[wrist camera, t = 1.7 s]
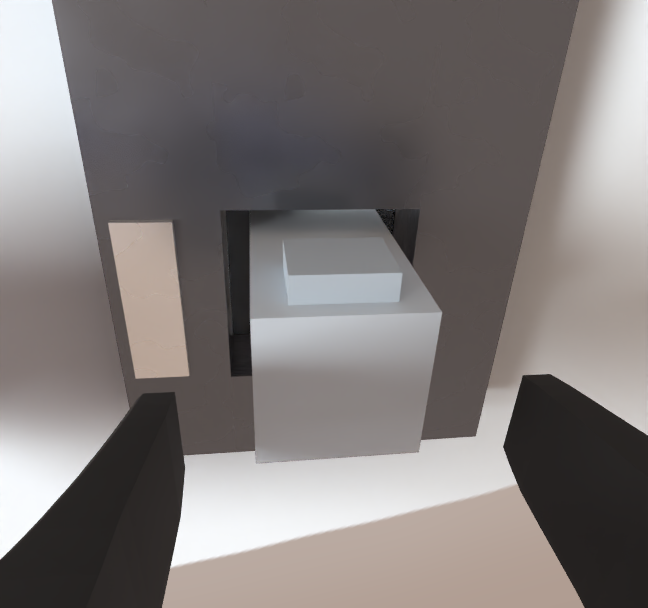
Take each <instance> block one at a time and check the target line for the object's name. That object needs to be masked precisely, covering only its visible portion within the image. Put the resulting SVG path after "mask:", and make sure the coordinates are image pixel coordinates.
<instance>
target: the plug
mask: <svg viewBox="0 0 648 608" xmlns="http://www.w3.org/2000/svg"><path fill="white" fill-rule="evenodd" d="M441 317H442V311H441V310H440V308H439V307H438V305H437V304H436V302H435V300H434V299H433V297H432V296H431V294H430V293H429V291H428V290H427V288H426V287H425V285H424V284H423V282H422V280H421V279H420V277H419V276H418V274H417V273H416V271H415V270H414V268H413V267H412V265H411V264H410V262H409V261H408V259H407V257H406V256H405V254H404V253H403V251H402V250H401V248H400V247H399V245H398V244H397V242H396V241H395V239H394V237H393V236H392V234H391V233H390V231H389V230H388V228H387V227H386V225H385V224H384V222H383V221H382V219H381V218H380V216H379V214H378V213H377V211H376V210H375V209H350V210H250V331H251V356H252V380H253V405H254V430H255V454H256V463H271V462H285V461H299V460H314V459H328V458H342V457H357V456H371V455H385V454H400V453H414V452H419V447H420V441H421V435H422V429H423V423H424V418H425V412H426V406H427V400H428V394H429V388H430V382H431V376H432V370H433V364H434V358H435V352H436V346H437V340H438V335H439V329H440V323H441Z"/></svg>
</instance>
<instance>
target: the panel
mask: <svg viewBox="0 0 648 608" xmlns="http://www.w3.org/2000/svg"><path fill="white" fill-rule="evenodd" d="M578 2H579V0H52V4H53V9H54V14H55V19H56V25H57V30H58V35H59V40H60V46H61V51H62V56H63V61H64V67H65V72H66V77H67V82H68V88H69V93H70V98H71V103H72V109H73V114H74V119H75V124H76V129H77V135H78V140H79V145H80V150H81V156H82V161H83V166H84V171H85V177H86V182H87V187H88V192H89V198H90V203H91V208H92V213H93V218H94V224H95V229H96V234H97V239H98V245H99V250H100V255H101V260H102V266H103V271H104V276H105V281H106V287H107V292H108V297H109V302H110V307H111V313H112V318H113V323H114V328H115V334H116V339H117V344H118V349H119V355H120V360H121V365H122V370H123V376H124V381H125V386H126V391H127V396H128V402H129V407H130V408H131V407H132V406H133V404H134V403H135V401H136V400H137V399H138V398H139V397H140V396H141V395H142V394H143V393H163V392H175V396H176V404H177V411H178V419H179V426H180V434H181V441H182V449H183V455H196V454H211V453H227V452H242V451H255V430H254V405H253V380H252V356H251V334H236V335H233V322H232V305H231V289H230V272H229V255H228V239H227V222H226V210H350V209H395V216H394V226H393V235H392V236H393V237H394V239H395V241H396V242H397V244H398V245H399V247H400V248H401V250H402V251H403V253H404V254H405V256H406V257H407V259H408V261H409V262H410V264H411V265H412V267H413V268H414V270H415V271H416V273H417V274H418V276H419V277H420V279H421V280H422V282H423V284H424V285H425V287H426V288H427V290H428V291H429V293H430V294H431V296H432V297H433V299H434V300H435V302H436V304H437V305H438V307H439V308H440V310H441V311H442V317H441V323H440V329H439V335H438V340H437V346H436V352H435V358H434V364H433V370H432V376H431V382H430V388H429V394H428V400H427V406H426V412H425V418H424V423H423V429H422V435H421V440H426V439H441V438H457V437H472V436H476V432H477V428H478V424H479V420H480V415H481V411H482V407H483V403H484V399H485V394H486V390H487V386H488V382H489V378H490V373H491V369H492V365H493V361H494V356H495V352H496V348H497V344H498V340H499V335H500V331H501V327H502V323H503V319H504V314H505V310H506V306H507V302H508V297H509V293H510V289H511V285H512V281H513V276H514V272H515V268H516V264H517V259H518V255H519V251H520V247H521V243H522V238H523V234H524V230H525V226H526V222H527V217H528V213H529V209H530V205H531V200H532V196H533V192H534V188H535V184H536V179H537V175H538V171H539V167H540V162H541V158H542V154H543V150H544V146H545V141H546V137H547V133H548V129H549V125H550V120H551V116H552V112H553V108H554V103H555V99H556V95H557V91H558V87H559V82H560V78H561V74H562V70H563V66H564V61H565V57H566V53H567V49H568V44H569V40H570V36H571V32H572V28H573V23H574V19H575V15H576V11H577V6H578Z"/></svg>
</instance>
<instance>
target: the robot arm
mask: <svg viewBox="0 0 648 608" xmlns="http://www.w3.org/2000/svg"><path fill="white" fill-rule="evenodd" d="M503 448H504V451H505V453H506V456H507V458H508V461H509V464H510V466H511V469H512V472H513V474H514V476H515V479H516V481H517V484H518V486H519V488H520V491H521V493H522V494H523V496H524V498H525V500H526V502H527V504H528V506H529V508H530V509H531V511H532V513H533V515H534V517H535V518H536V520H537V522H538V524H539V526H540V528H541V529H542V531H543V533H544V535H545V536H546V538H547V540H548V542H549V544H550V545H551V547H552V549H553V551H554V552H555V554H556V556H557V558H558V560H559V561H560V563H561V565H562V567H563V569H564V570H565V572H566V574H567V576H568V577H569V579H570V581H571V583H572V585H573V586H574V588H575V590H576V592H577V593H578V596H579V597H580V599H581V601H582V603H583V605H584V607H585V608H648V435H646V434H644V433H643V432H641V431H640V430H638V429H636V428H635V427H633V426H632V425H630V424H629V423H627V422H626V421H624V420H622V419H621V418H619V417H618V416H616V415H615V414H613V413H612V412H610V411H608V410H607V409H605V408H604V407H602V406H601V405H599V404H598V403H596V402H595V401H593V400H592V399H590V398H588V397H587V396H585V395H584V394H582V393H581V392H579V391H577V390H576V389H574V388H573V387H571V386H569V385H568V384H566V383H565V382H563V381H561V380H559V379H558V378H556V377H554V376H552V375H550V374H544V375H523V377H522V381H521V384H520V388H519V391H518V395H517V399H516V402H515V406H514V410H513V413H512V417H511V420H510V424H509V428H508V431H507V435H506V439H505V442H504V446H503ZM184 474H185V464H184V456H183V449H182V441H181V434H180V426H179V419H178V411H177V404H176V396H175V392H163V393H143V394H142V395H141V396H140V397H139V398H138V399H137V400H136V401H135V403H134V404H133V406H132V407H131V408H130V410H129V411H128V413H127V414H126V415H125V417H124V418H123V420H122V421H121V422H120V424H119V425H118V426H117V428H116V429H115V430H114V432H113V433H112V434H111V436H110V437H109V438H108V440H107V441H106V442H105V443H104V445H103V446H102V447H101V449H100V450H99V451H98V452H97V454H96V455H95V456H94V457H93V458H92V460H91V461H90V462H89V463H88V465H87V466H86V467H85V468H84V470H83V471H82V472H81V473H80V475H79V476H78V477H77V478H76V479H75V481H74V482H73V483H72V484H71V485H70V486H69V487H68V489H67V490H66V491H65V492H64V493H63V494H62V495H61V496H60V498H59V499H58V500H57V501H56V502H55V503H54V504H53V505H52V506H51V508H50V509H49V510H48V511H47V512H46V513H45V514H44V515H43V517H42V518H41V519H40V520H39V521H38V522H37V523H36V524H35V525H34V526H33V527H32V528H31V529H30V530H29V531H28V532H27V534H26V535H25V536H24V537H23V538H22V539H21V540H20V541H19V542H18V543H17V544H16V545H15V546H14V547H13V548H12V549H11V550H10V551H9V552H8V553H7V554H6V555H5V556H4V557H3V558H2V559H1V560H0V608H162V604H163V599H164V594H165V589H166V585H167V580H168V575H169V571H170V566H171V561H172V556H173V551H174V547H175V542H176V537H177V532H178V527H179V522H180V517H181V507H182V497H183V485H184Z"/></svg>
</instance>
